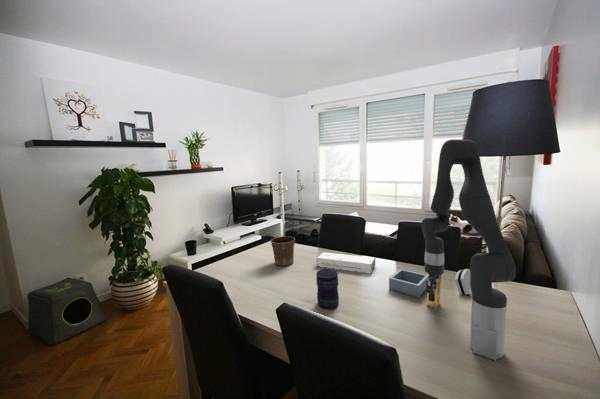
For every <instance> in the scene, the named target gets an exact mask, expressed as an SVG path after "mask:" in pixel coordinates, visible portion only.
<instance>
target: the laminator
mask: <svg viewBox="0 0 600 399" xmlns="http://www.w3.org/2000/svg"><path fill="white" fill-rule="evenodd" d="M316 266H317V267H318V266H320V268H324V267H327V268H326V269H332V268H335V269H334V270H339V269H342V271H347V270H348V271H349V272H355V271H357V273H362V272H365V273H364V274H370V273H371V274H372V272H373V270H374V268H375V266H376V257H371V256H364V255H363V256H362V255H353V254H352V255H351V254H341V253H333V252H322V253H320V254H319V255H318V256H317V257H316Z"/></svg>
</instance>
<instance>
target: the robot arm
mask: <svg viewBox="0 0 600 399" xmlns="http://www.w3.org/2000/svg"><path fill="white" fill-rule="evenodd" d="M481 162H482V160H481V157H480V152H479V148H478V145H477V144H476V142H475V141H473V140H472V139H456V138H453V139H448V140H446V141H444V142H443V144H442V146H441V149H440V153H439V156H438V166H437V175H436V176H437V178H436V184H435V185H436V186H435V190H434V193H433V197H432V200H431V204H430V210H431V211H432V212H433V213H434V214H435V215H434V216H432V215H431V216H427V217H424V218H423V219H422V221H421V230H422V234H423V238H424V241H425V248H424V249H425V251H424V272H425V273H427V275H429V276H428V281H427V280H426V294H427V293H429V301H432V302H434V300H435V289H436V285H437V282H438V283H439V282H440V281H441V280H442V275H443V274H444V272H445V251H444V250H445V249H444V248H445V244H444V239H442V237H437V234H438V233H443V232H446V231H447V229H448V228H449V227H450V210H451V206H452V203H453V201H454V197H455V192H454V191H455V190H454V187H453V183H452V179H451V172H452V168H453V165H461V167H462V170H463V174H464V181H463V184H462V186H461V189H460V192H459V195H458V201H459V202H458V203H459V206H460V210H461V214H462V216H463V218H464V220H465V221H466V222H467V224H469V226H470V227H471V228H473V229H474V231H475V232H476V233H478V235H480V237H481V238H482V239H483V241H484V243H485V245H486V248H487V250H488V252H482V253H481V252H479V253H475V254H473V255H472V256H471V258H470V262H469V269H470V286H471V291H472V297H471V310H470V311H471V316H470V317H471V318H470V336H469V339H470V340H469V342H470V343H469V345H470V347H471V350H472V353H473V354H476V355H479V356H482V357H484V358H487V359H490V360H493V361H495V362H496V361H497V360H499V359H502V358H503V357H504V355H505V338H506V322H507V304H508V299H507V295H506V294H505V293H504V292H502V291H500V290H498V289H496V288H493V284H494V283H509V282H512V281H513V280H515V278H516V275H517V270H516V265H515V264H516V263H515V260H514V258H513V256H512V254H511V252H510V249H509V247H508V245H507V242H506V240H505V238H504V236H503V233H502V230H501V228H500V225H499V222H498V219H497V217H496V216H497V215H496V213H495V208H494V206H493V205H494V204H493V202H492V199H491V196H490V193H489V190H488V187H487V184H486V180H485V176H484V172H483V166H482V163H481ZM441 282H442V281H441ZM441 282H440V286H442V285H441ZM433 285H435V286H433ZM430 289H431V290H430Z"/></svg>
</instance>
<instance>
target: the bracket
mask: <svg viewBox="0 0 600 399" xmlns="http://www.w3.org/2000/svg"><path fill="white" fill-rule="evenodd" d="M440 282H442V281H440ZM440 282H439V283H438V282H437V285H436V289H435V300H434V302H432V301H429V293H427V292H426V306H428V307H431V308H433V309H438V307H439V305H440V304H441V285H440ZM433 286H435V285H433ZM430 290H431V289H430Z"/></svg>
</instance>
